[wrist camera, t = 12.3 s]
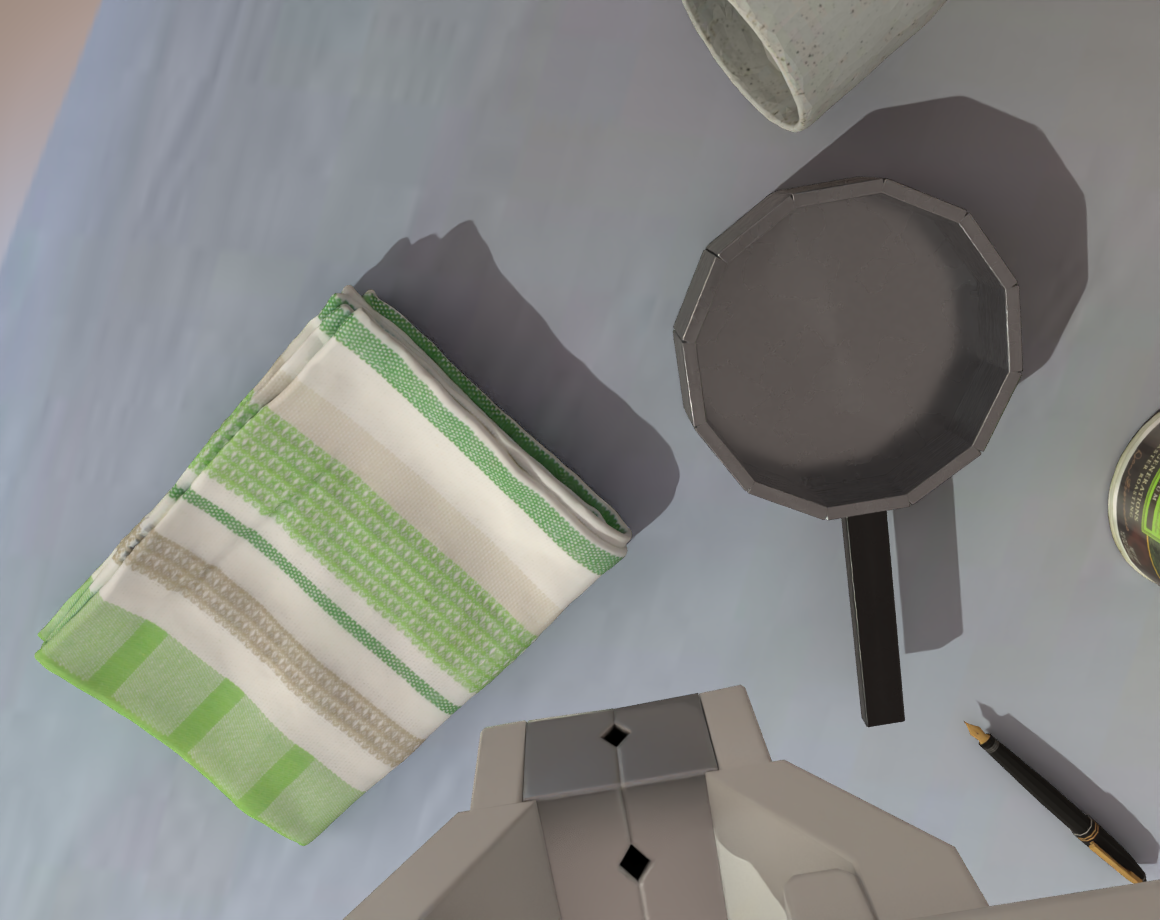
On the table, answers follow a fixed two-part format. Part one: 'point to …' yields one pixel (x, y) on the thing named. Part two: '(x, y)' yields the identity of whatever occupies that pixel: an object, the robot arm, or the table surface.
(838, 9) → the ceramic mug
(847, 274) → the steel pan
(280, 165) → the table surface
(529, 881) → the robot arm
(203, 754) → the dish towel
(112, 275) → the table surface
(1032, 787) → the fountain pen
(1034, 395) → the table surface
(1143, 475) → the coffee can
